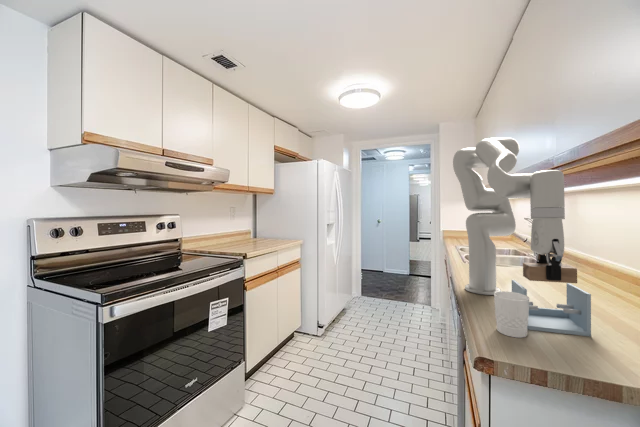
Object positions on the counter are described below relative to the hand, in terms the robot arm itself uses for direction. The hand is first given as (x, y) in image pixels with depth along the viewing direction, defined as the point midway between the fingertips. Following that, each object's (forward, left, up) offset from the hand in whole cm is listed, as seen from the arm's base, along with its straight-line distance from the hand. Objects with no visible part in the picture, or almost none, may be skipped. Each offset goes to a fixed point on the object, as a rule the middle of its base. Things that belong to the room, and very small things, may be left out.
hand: (548, 276), depth 79 cm
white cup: (+9, -11, -14) cm, 20 cm away
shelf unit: (0, 0, -14) cm, 14 cm away
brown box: (0, 0, -1) cm, 1 cm away
